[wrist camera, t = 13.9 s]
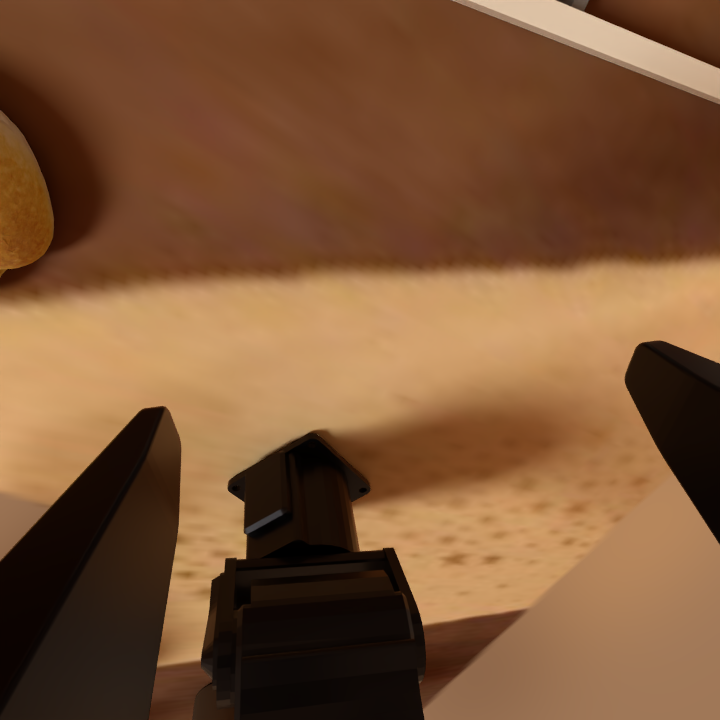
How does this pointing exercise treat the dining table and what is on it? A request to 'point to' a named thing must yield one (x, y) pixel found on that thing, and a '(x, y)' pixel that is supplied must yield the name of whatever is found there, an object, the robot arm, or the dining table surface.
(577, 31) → the box
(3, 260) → the bread roll
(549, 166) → the dining table surface
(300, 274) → the dining table surface
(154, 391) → the dining table surface
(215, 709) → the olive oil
